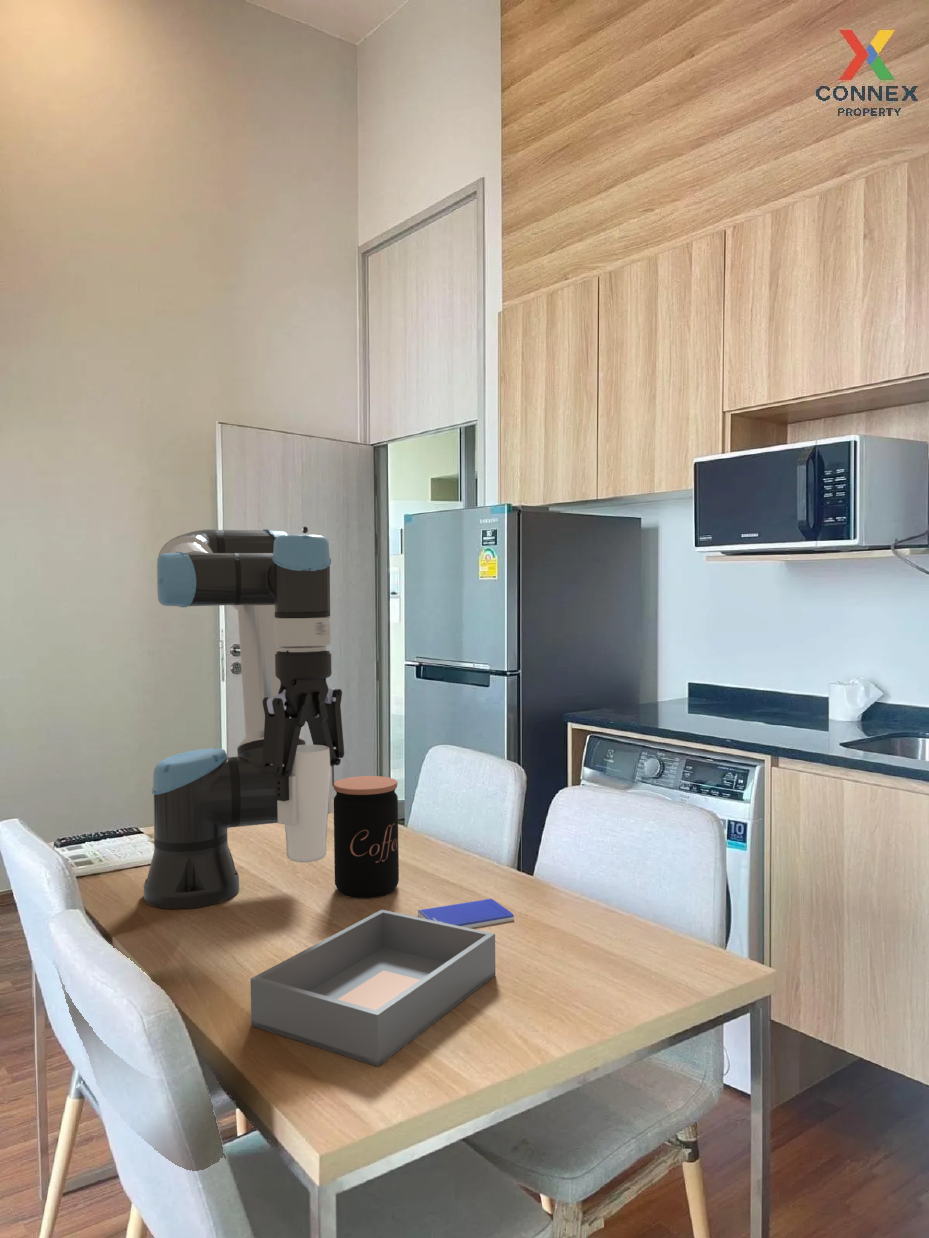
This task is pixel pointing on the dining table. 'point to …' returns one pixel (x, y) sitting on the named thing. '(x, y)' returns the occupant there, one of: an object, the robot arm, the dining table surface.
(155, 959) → the dining table surface
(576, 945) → the dining table surface
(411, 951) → the walled box
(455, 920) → the hard drive
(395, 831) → the coffee jar
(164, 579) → the robot arm
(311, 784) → the drinking glass
